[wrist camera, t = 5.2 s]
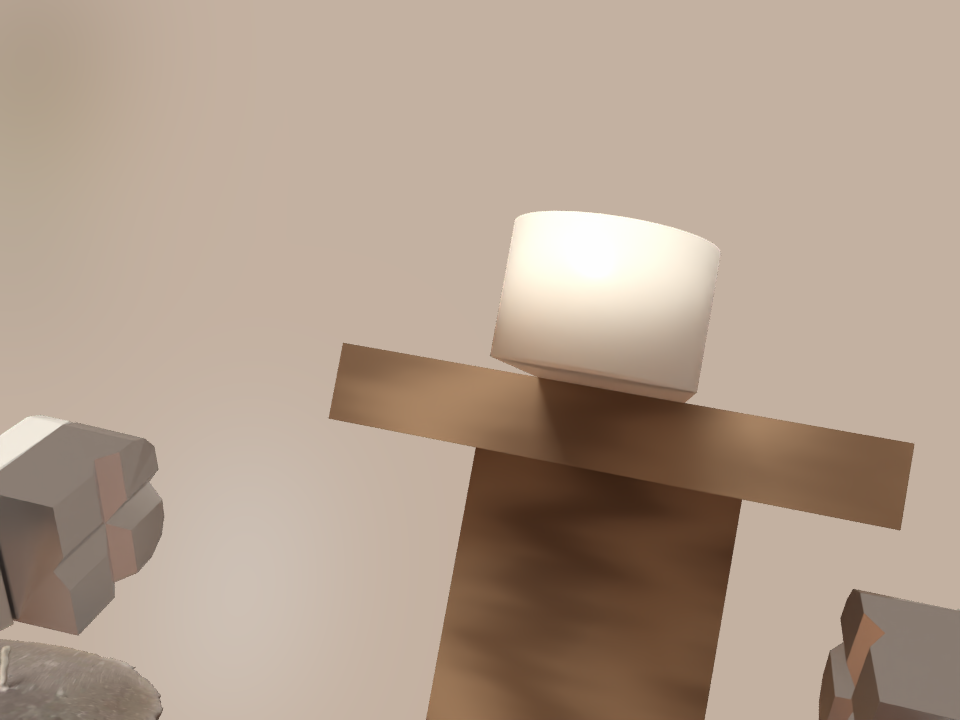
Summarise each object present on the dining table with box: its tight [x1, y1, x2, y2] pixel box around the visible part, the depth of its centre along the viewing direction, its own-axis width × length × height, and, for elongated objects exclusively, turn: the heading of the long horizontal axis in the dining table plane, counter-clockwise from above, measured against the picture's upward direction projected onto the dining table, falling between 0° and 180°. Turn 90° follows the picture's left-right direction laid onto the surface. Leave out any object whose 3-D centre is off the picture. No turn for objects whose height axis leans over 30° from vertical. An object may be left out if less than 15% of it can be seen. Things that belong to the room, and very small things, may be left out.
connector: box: [490, 211, 721, 403], centre depth 26 cm, size 4×26×2 cm, turn 169°
